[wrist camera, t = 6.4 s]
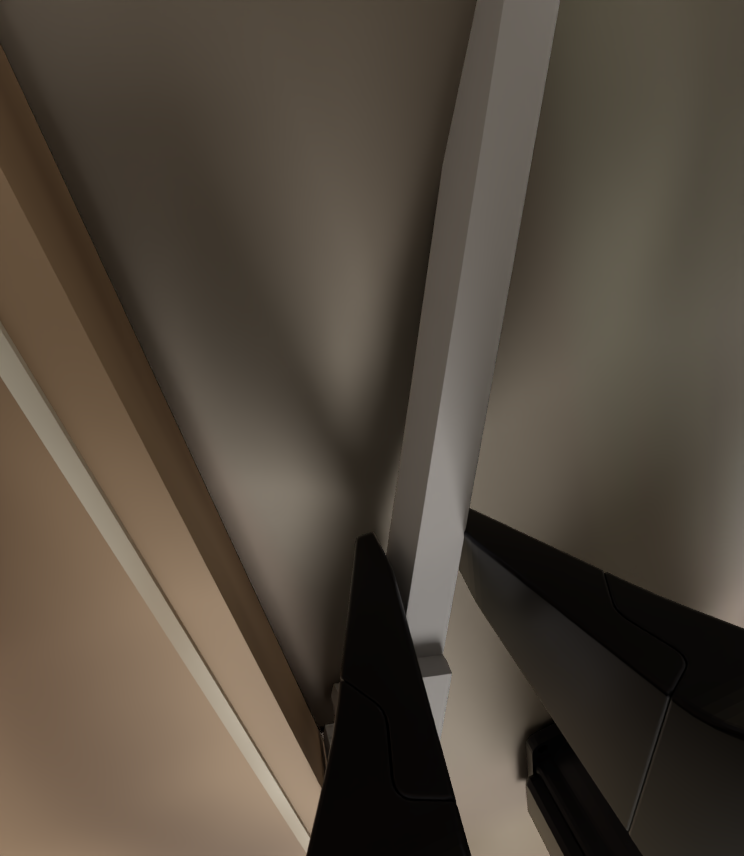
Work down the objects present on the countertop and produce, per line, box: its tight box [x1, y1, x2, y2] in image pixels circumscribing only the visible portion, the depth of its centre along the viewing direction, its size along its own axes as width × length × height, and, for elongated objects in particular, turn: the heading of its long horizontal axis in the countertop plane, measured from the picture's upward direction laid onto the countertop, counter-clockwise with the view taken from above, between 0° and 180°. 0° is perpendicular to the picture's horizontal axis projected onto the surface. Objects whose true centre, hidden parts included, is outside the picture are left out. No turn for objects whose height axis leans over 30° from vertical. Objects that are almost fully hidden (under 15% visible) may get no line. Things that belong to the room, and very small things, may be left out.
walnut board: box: [0, 44, 327, 856], centre depth 8 cm, size 6×24×2 cm, turn 12°
